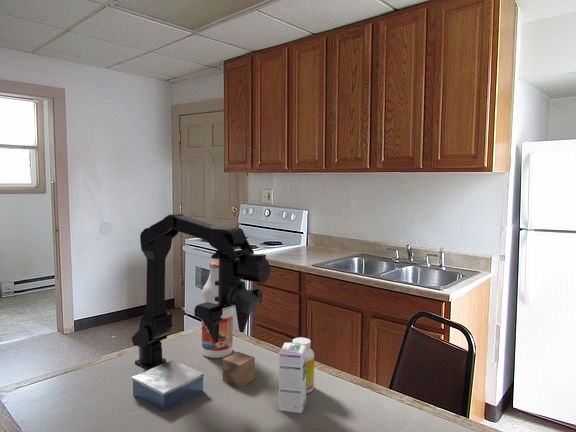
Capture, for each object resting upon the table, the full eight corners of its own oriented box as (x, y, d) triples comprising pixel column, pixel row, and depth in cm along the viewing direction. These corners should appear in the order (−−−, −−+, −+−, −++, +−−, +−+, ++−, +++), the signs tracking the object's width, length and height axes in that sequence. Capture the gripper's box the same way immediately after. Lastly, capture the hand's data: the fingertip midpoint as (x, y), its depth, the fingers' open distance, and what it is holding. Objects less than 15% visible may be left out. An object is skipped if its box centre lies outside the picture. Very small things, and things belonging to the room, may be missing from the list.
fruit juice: (239, 351, 132) (239, 262, 129) (216, 361, 124) (216, 267, 122) (218, 343, 138) (218, 258, 135) (195, 352, 130) (195, 263, 128)
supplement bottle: (317, 386, 111) (318, 338, 110) (307, 397, 105) (308, 347, 104) (294, 380, 114) (295, 334, 113) (283, 391, 108) (284, 342, 107)
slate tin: (131, 396, 105) (131, 377, 104) (172, 377, 115) (172, 360, 114) (163, 413, 98) (163, 392, 97) (204, 392, 108) (204, 373, 107)
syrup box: (302, 414, 98) (303, 353, 97) (277, 410, 99) (278, 350, 98) (306, 401, 103) (307, 343, 102) (282, 398, 105) (283, 341, 103)
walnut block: (222, 380, 113) (222, 359, 113) (237, 372, 118) (238, 351, 118) (239, 387, 110) (239, 365, 109) (254, 378, 115) (254, 357, 114)
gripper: (226, 290, 95) (225, 357, 96) (277, 276, 110) (276, 334, 111) (192, 282, 101) (192, 345, 103) (245, 269, 116) (245, 324, 118)
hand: (229, 337), depth 109 cm, fingers open, 9 cm apart
